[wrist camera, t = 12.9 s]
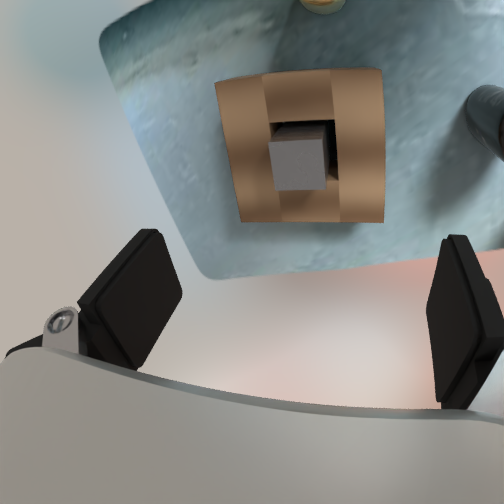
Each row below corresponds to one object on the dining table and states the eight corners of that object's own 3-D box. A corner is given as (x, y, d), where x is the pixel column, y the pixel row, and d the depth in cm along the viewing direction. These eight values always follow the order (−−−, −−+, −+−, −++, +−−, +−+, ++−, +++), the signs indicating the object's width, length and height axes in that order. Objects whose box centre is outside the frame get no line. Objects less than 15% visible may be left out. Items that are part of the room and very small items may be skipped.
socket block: (235, 77, 29) (214, 83, 25) (373, 67, 25) (381, 69, 21) (255, 196, 37) (241, 222, 32) (378, 195, 33) (383, 222, 28)
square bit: (288, 117, 31) (268, 142, 23) (327, 114, 30) (321, 139, 22) (293, 153, 33) (275, 190, 25) (330, 151, 32) (326, 189, 24)
